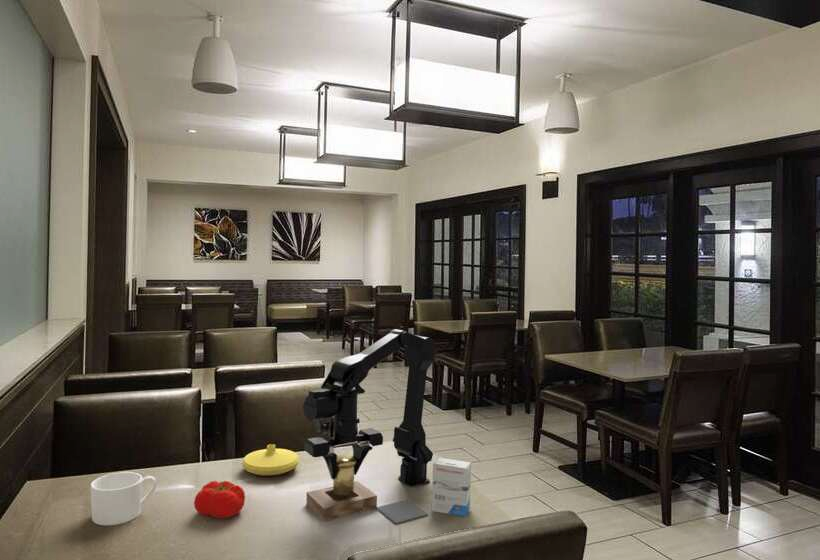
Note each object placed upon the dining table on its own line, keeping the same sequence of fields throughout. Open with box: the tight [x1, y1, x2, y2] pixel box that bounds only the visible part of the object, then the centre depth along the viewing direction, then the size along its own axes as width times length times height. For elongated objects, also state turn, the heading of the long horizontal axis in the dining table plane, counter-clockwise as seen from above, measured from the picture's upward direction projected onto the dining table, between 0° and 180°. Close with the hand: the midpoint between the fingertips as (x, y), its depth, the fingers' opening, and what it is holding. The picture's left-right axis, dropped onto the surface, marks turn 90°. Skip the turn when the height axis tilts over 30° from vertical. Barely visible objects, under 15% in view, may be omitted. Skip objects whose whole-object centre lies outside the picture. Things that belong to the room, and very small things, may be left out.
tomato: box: [193, 480, 246, 519], centre depth 131 cm, size 10×11×6 cm
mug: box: [90, 471, 157, 526], centre depth 128 cm, size 13×10×8 cm
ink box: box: [431, 457, 472, 518], centre depth 136 cm, size 8×5×12 cm, turn 71°
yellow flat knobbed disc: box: [241, 444, 300, 477], centre depth 157 cm, size 16×16×7 cm
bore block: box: [306, 480, 378, 522], centre depth 136 cm, size 14×10×3 cm
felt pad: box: [375, 498, 429, 525], centre depth 134 cm, size 9×9×1 cm
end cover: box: [332, 454, 357, 495], centre depth 136 cm, size 6×6×8 cm
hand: (343, 476), depth 136 cm, fingers closed on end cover, 5 cm apart
